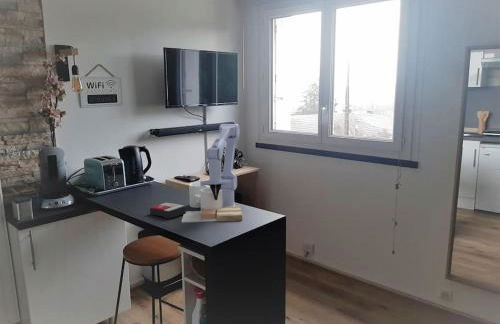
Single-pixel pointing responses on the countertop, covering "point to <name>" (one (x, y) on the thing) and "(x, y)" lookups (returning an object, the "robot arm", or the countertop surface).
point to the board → (229, 213)
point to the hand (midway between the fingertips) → (216, 199)
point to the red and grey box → (168, 210)
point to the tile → (208, 213)
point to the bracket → (204, 197)
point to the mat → (195, 217)
